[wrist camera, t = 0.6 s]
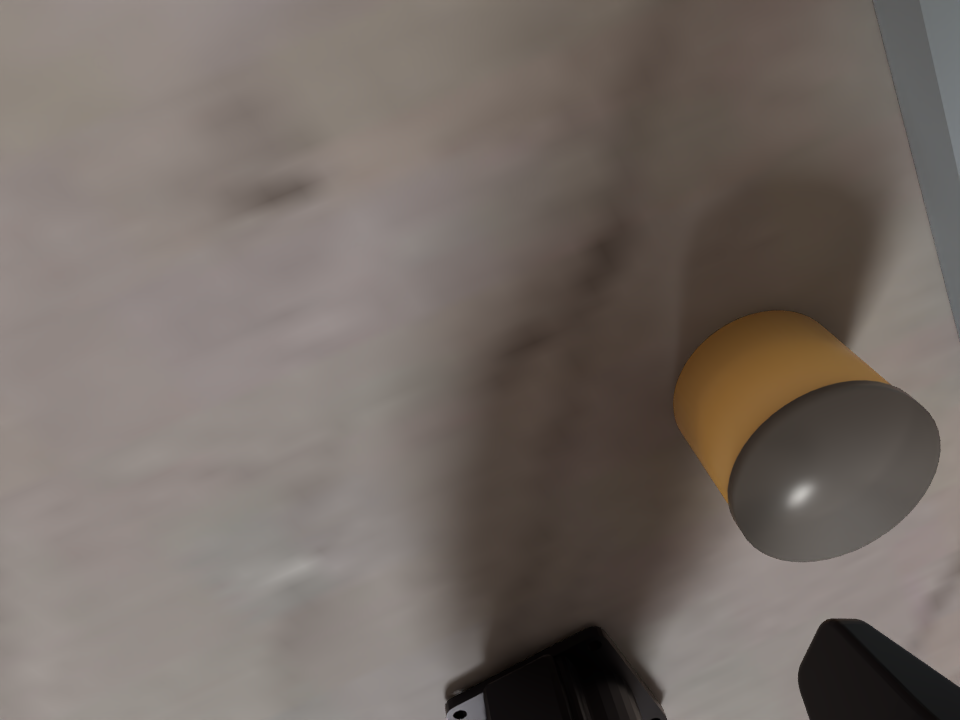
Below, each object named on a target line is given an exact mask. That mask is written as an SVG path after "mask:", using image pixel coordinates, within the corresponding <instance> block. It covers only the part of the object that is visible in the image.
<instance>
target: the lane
mask: <svg viewBox="0 0 960 720" xmlns="http://www.w3.org/2000/svg"><path fill="white" fill-rule="evenodd" d="M873 4H874V8H875V12H876V15H877V19H878V23H879V27H880V31H881V35H882V39H883V43H884V47H885V51H886V54H887V58H888V62H889V66H890V70H891V74H892V78H893V82H894V86H895V90H896V94H897V97H898V101H899V105H900V109H901V113H902V117H903V121H904V125H905V129H906V133H907V137H908V140H909V144H910V148H911V152H912V156H913V160H914V164H915V168H916V172H917V176H918V179H919V183H920V187H921V191H922V195H923V199H924V203H925V207H926V211H927V215H928V219H929V222H930V226H931V230H932V234H933V238H934V242H935V246H936V250H937V254H938V258H939V262H940V265H941V269H942V273H943V277H944V281H945V285H946V289H947V293H948V297H949V301H950V304H951V308H952V312H953V316H954V320H955V324H956V328H957V332H958V336H959V340H960V0H873Z"/></svg>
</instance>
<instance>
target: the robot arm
mask: <svg viewBox="0 0 960 720" xmlns="http://www.w3.org/2000/svg"><path fill="white" fill-rule="evenodd" d="M798 683H799V689H800V693H801V696H802V699H803V701H804V704H805V707H806V710H807V713H808V716H809V719H810V720H960V687H958V686H957V685H956V684H954V683H953V682H951V681H950V680H948V679H947V678H945V677H944V676H943V675H941V674H940V673H938V672H937V671H935V670H934V669H932V668H931V667H930V666H928V665H927V664H925V663H924V662H922V661H921V660H919V659H918V658H917V657H915V656H914V655H912V654H911V653H909V652H908V651H906V650H905V649H904V648H902V647H901V646H899V645H898V644H896V643H895V642H894V641H892V640H891V639H889V638H888V637H886V636H885V635H883V634H882V633H881V632H879V631H878V630H876V629H875V628H873V627H872V626H870V625H869V624H867V623H866V622H864V621H862V620H858V619H827V620H826V621H824V622H823V623H822V624H821V625H820V626H819V628H818V630H817V632H816V634H815V636H814V638H813V640H812V642H811V644H810V646H809V648H808V650H807V652H806V654H805V656H804V658H803V660H802V662H801V664H800V667H799V672H798ZM445 711H446V718H447V720H667V718H666V715H665V713H664V710H663V708H662V706H661V705H660V704H659V702H658V701H657V700H656V698H655V697H654V696H653V694H652V693H651V692H650V690H649V689H648V688H647V687H646V685H645V684H644V683H643V681H642V680H641V679H640V677H639V676H638V675H637V673H636V672H635V671H634V669H633V668H632V667H631V665H630V664H629V663H628V661H627V660H626V659H625V657H624V656H623V655H622V654H621V652H620V651H619V650H618V648H617V647H616V646H615V644H614V643H613V642H612V640H611V639H610V638H609V636H608V635H607V634H606V632H605V631H604V630H603V629H602V628H599V627H590V628H587V629H585V630H583V631H581V632H579V633H577V634H575V635H573V636H571V637H569V638H567V639H565V640H563V641H561V642H559V643H557V644H556V645H554V646H552V647H550V648H548V649H546V650H544V651H542V652H540V653H538V654H536V655H534V656H532V657H530V658H529V659H527V660H525V661H523V662H521V663H519V664H517V665H515V666H513V667H511V668H509V669H507V670H505V671H503V672H501V673H500V674H498V675H496V676H494V677H492V678H490V679H488V680H486V681H484V682H482V683H480V684H478V685H476V686H474V687H472V688H471V689H469V690H467V691H465V692H463V693H461V694H459V695H457V696H455V697H453V698H451V699H450V700H449V701H447V703H446V704H445Z"/></svg>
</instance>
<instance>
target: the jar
mask: <svg viewBox="0 0 960 720" xmlns="http://www.w3.org/2000/svg"><path fill="white" fill-rule="evenodd" d="M673 409H674V416H675V420H676V423H677V425H678V428H679V430H680V431H681V433H682V434H683V436H684V437H685V439H686V441H687V442H688V444H689V445H690V447H691V448H692V450H693V451H694V453H695V454H696V456H697V457H698V459H699V460H700V462H701V463H702V465H703V466H704V468H705V469H706V471H707V473H708V474H709V476H710V477H711V479H712V480H713V482H714V483H715V485H716V486H717V488H718V489H719V491H720V492H721V494H722V495H723V497H724V498H725V500H726V501H727V503H728V505H729V509H730V512H731V514H732V517H733V519H734V521H735V522H736V524H737V525H738V527H739V528H740V530H741V532H742V533H743V535H744V536H745V538H746V539H747V540H748V541H749V542H750V543H751V544H752V545H753V547H755V548H756V549H758V550H759V551H760V552H762V553H764V554H766V555H768V556H770V557H773V558H776V559H780V560H785V561H791V562H814V561H821V560H827V559H831V558H835V557H838V556H842V555H844V554H847V553H850V552H853V551H855V550H857V549H859V548H862V547H864V546H866V545H868V544H869V543H871V542H873V541H875V540H876V539H878V538H879V537H881V536H882V535H884V534H885V533H887V532H888V531H890V530H891V529H892V528H893V527H895V526H896V525H897V524H898V523H900V522H901V521H902V520H903V519H904V518H905V517H906V516H907V515H908V514H909V513H910V512H911V511H912V509H913V508H914V507H915V506H916V505H917V504H918V502H919V501H920V500H921V498H922V497H923V495H924V494H925V492H926V491H927V489H928V487H929V486H930V484H931V482H932V479H933V477H934V475H935V473H936V469H937V466H938V463H939V457H940V436H939V431H938V428H937V426H936V423H935V421H934V419H933V418H932V416H931V415H930V413H929V412H928V411H927V410H926V409H925V408H924V407H923V406H922V405H920V404H919V403H918V402H917V401H916V400H915V399H913V398H912V397H911V396H910V395H909V394H907V393H906V392H904V391H903V390H901V389H899V388H897V387H895V386H892V385H891V384H889V383H888V382H887V381H886V380H885V379H884V378H882V377H881V376H880V375H879V374H878V373H877V372H875V371H874V370H873V369H872V368H871V367H870V366H868V365H867V364H866V363H865V362H864V361H863V360H861V359H860V358H859V357H858V356H857V355H856V354H854V353H853V352H852V351H851V350H850V349H849V348H847V347H846V346H845V345H844V344H843V343H842V342H840V341H839V340H838V339H837V338H836V337H835V336H833V335H832V334H831V333H830V332H829V331H828V330H826V329H825V328H824V327H823V326H822V325H821V324H819V323H818V322H817V321H815V320H814V319H812V318H810V317H808V316H806V315H803V314H800V313H796V312H792V311H784V310H772V311H764V312H759V313H755V314H751V315H748V316H745V317H742V318H739V319H737V320H735V321H733V322H731V323H729V324H727V325H725V326H724V327H722V328H721V329H719V330H718V331H716V332H715V333H714V334H712V335H711V336H710V337H708V338H707V339H706V340H705V341H704V342H703V343H702V344H701V345H700V346H699V347H698V348H697V349H696V350H695V352H694V353H693V354H692V355H691V357H690V358H689V360H688V361H687V363H686V364H685V366H684V368H683V369H682V371H681V373H680V375H679V378H678V381H677V384H676V387H675V392H674V400H673Z"/></svg>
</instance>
